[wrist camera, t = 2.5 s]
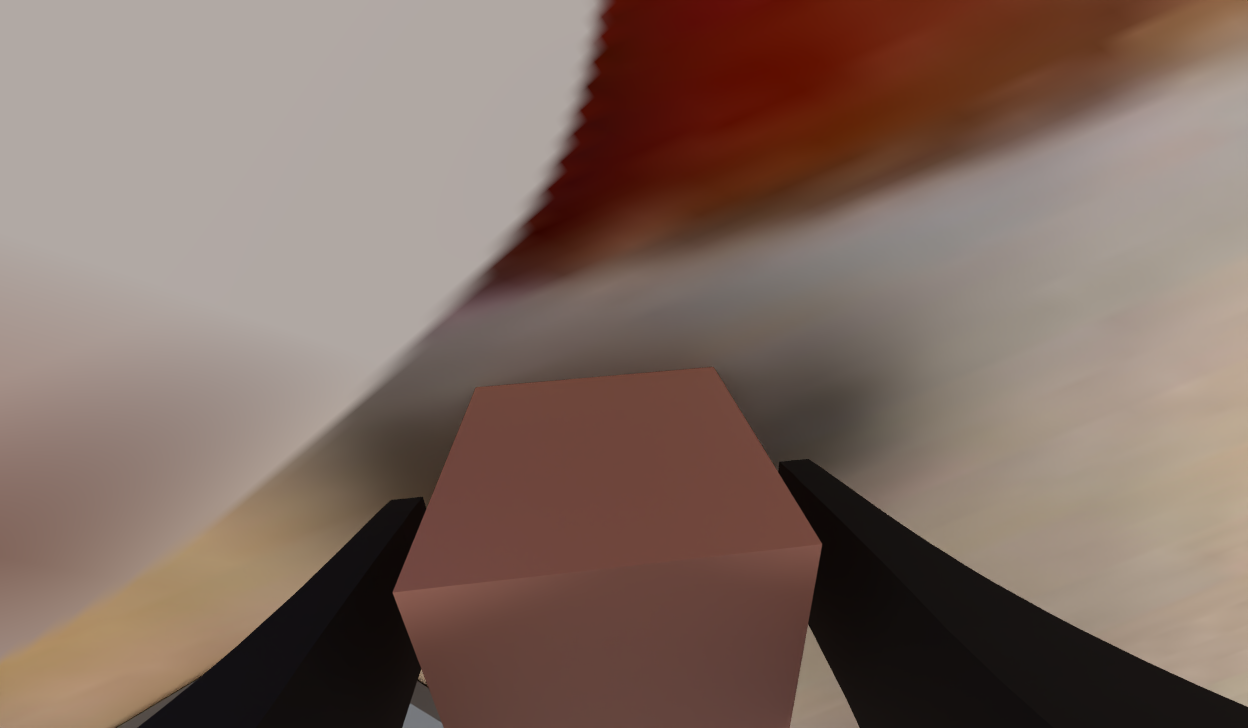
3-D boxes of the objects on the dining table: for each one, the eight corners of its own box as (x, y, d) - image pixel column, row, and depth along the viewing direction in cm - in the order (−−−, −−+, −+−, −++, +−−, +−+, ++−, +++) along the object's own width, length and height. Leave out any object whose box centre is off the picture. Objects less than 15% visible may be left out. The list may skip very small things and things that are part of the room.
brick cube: (712, 364, 10) (822, 544, 6) (706, 537, 12) (782, 768, 8) (476, 385, 10) (392, 591, 5) (513, 558, 12) (475, 810, 7)
